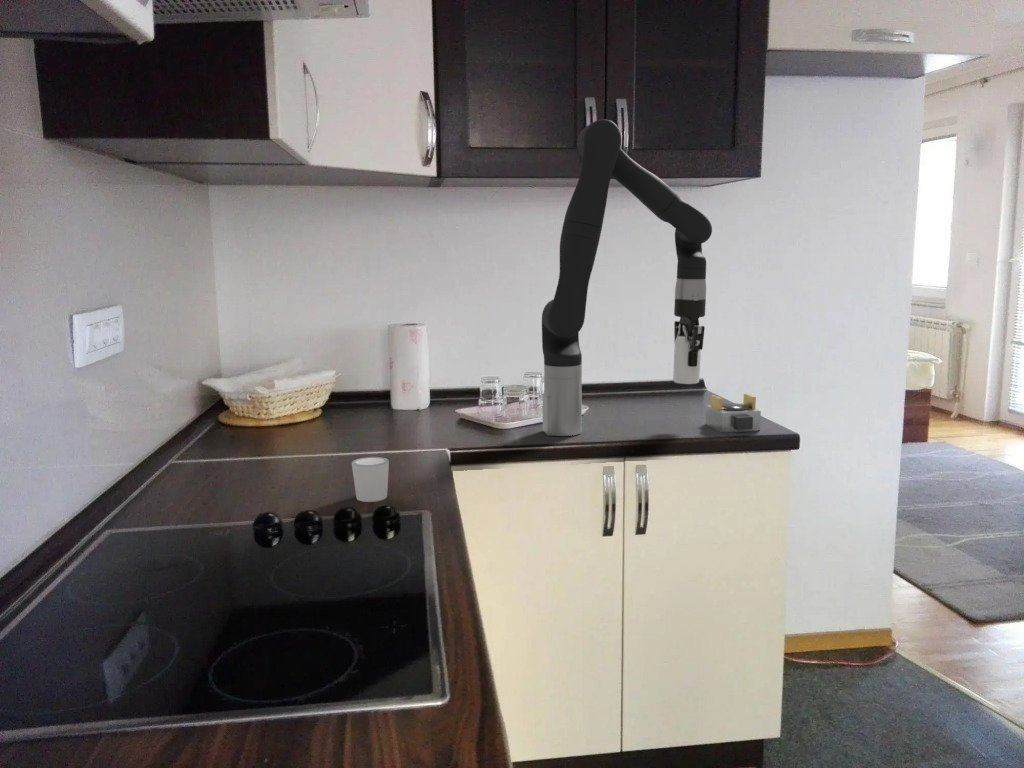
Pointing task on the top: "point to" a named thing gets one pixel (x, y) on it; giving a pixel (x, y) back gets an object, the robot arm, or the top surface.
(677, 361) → the can
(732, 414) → the motor housing
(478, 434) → the top surface
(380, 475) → the light grey cup
